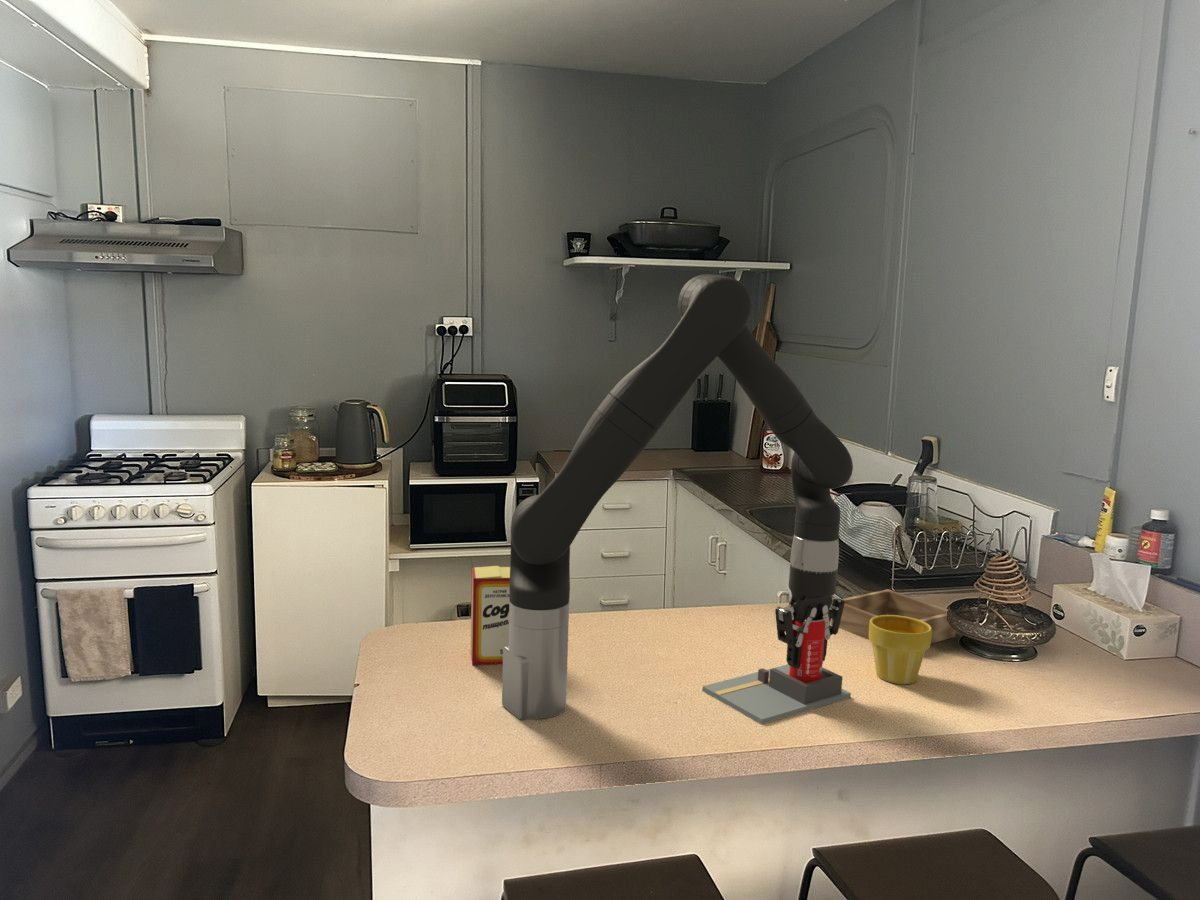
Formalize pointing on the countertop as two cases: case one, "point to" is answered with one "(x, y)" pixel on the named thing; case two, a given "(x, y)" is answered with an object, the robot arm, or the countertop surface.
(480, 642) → the baking soda box
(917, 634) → the plant pot
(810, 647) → the beverage can
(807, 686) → the board
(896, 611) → the wooden tray
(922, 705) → the countertop surface
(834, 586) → the robot arm
